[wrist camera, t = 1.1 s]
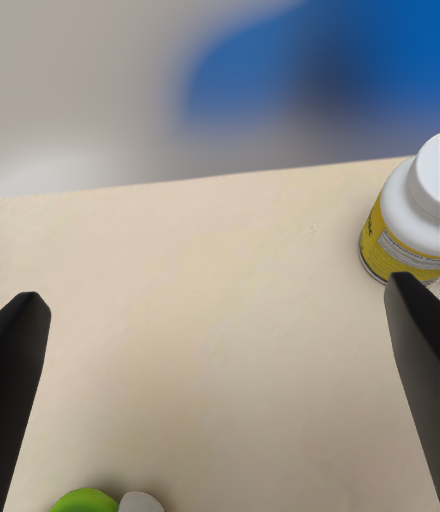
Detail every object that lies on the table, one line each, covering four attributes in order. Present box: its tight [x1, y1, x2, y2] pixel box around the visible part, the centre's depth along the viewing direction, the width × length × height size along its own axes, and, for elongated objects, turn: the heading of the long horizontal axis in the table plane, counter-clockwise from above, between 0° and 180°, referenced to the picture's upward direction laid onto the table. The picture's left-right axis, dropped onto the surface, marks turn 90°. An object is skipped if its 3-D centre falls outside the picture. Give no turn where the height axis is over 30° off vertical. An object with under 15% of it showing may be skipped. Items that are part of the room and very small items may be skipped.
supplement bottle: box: [359, 133, 440, 286], centre depth 20 cm, size 5×5×10 cm
